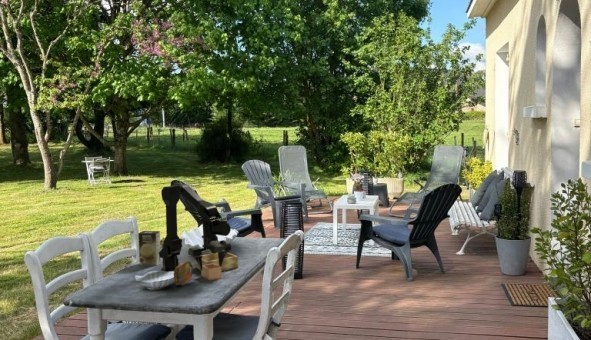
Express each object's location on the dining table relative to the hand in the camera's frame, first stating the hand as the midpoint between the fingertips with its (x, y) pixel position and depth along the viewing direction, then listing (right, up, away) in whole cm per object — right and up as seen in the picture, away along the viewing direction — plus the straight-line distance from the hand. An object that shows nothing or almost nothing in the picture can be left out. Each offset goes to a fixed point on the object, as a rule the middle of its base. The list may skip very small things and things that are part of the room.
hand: (211, 268), depth 245 cm
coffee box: (-34, -3, +27) cm, 44 cm away
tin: (-11, -5, -7) cm, 14 cm away
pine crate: (0, -3, +16) cm, 16 cm away
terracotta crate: (0, -4, 0) cm, 4 cm away
